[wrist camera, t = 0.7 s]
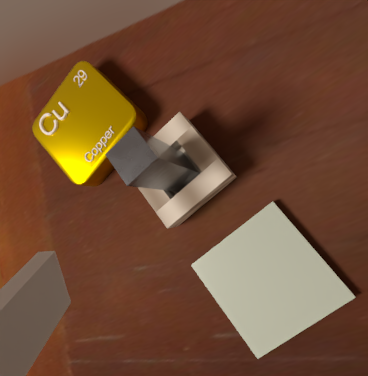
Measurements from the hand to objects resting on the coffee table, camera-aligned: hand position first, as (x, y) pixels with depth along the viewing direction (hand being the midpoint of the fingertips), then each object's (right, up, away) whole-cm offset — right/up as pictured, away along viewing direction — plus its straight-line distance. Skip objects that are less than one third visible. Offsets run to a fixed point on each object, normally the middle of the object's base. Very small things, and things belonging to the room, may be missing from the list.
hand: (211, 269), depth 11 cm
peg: (-2, +6, +28) cm, 28 cm away
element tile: (-16, +13, +35) cm, 40 cm away
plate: (+9, -8, +24) cm, 27 cm away
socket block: (-1, +6, +29) cm, 29 cm away
